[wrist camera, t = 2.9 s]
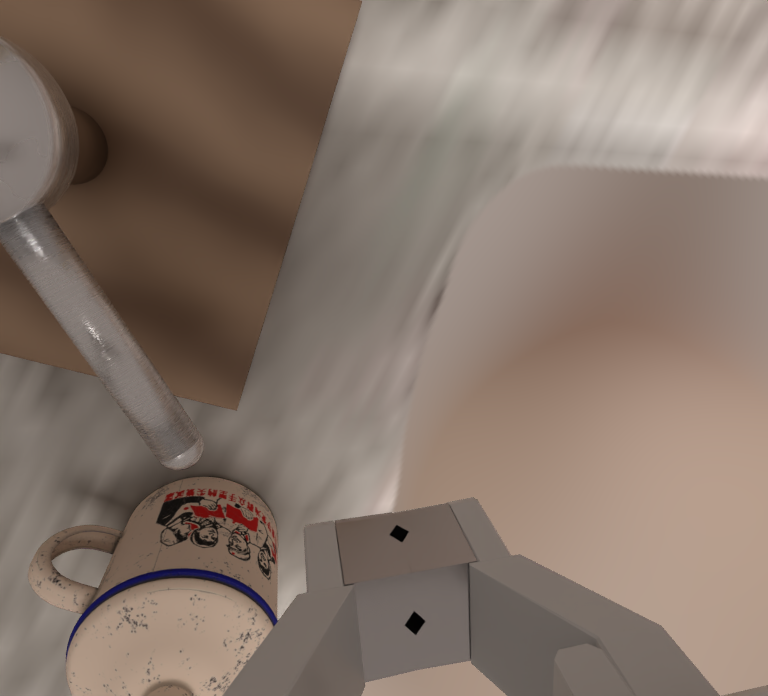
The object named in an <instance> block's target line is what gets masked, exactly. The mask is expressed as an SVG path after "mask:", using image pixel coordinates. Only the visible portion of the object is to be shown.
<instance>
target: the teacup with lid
mask: <svg viewBox="0 0 768 696" xmlns="http://www.w3.org/2000/svg"><path fill="white" fill-rule="evenodd" d="M75 549H94V550H99V551H103V552H107V553H110V554H113V556H112V558H111V561H110V563H109V565H108V567H107V569H106V572H105V574H104V576H103V578H102V581H101V583H100V585H99V587H98V588H95V587H92V586H88V585H84V584H81V583H78V582H75V581H72V580H70V579H68V578H66V577H64V576H62V575H61V574H60V573H59V572H58V571H57V570H56V569H55V568H54V566H53V565H52V562H51V560H53V559H54V558H55V557H57V556H59V555H61V554H62V553H65V552H67V551H70V550H75ZM277 575H278V534H277V528H276V524H275V520H274V518H273V516H272V513H271V512H270V510H269V508H268V507H267V506H266V504H265V503H264V502H263V501H262V500H261V499H260V498H259V497H258V496H257V495H256V494H255V493H253V492H252V491H251V490H249V489H248V488H246V487H244V486H242V485H240V484H238V483H235V482H232V481H230V480H226V479H222V478H215V477H193V478H187V479H182V480H178V481H175V482H172V483H170V484H167V485H165V486H163V487H161V488H159V489H158V490H156V491H154V492H153V493H151V494H150V495H149V496H148V497H146V498H145V499H144V500H143V501H142V502H141V503H140V504H139V505H138V507H137V508H136V509H135V511H134V512H133V513H132V515H131V517H130V519H129V521H128V523H127V525H126V527H125V530H124V532H122V531H119V530H115V529H112V528H108V527H103V526H96V525H82V526H76V527H72V528H68V529H66V530H63V531H61V532H59V533H57V534H55V535H53V536H52V537H50V538H49V539H48V540H47V541H45V542H44V543H43V544H42V545H41V547H40V548H39V549H38V551H37V552H36V554H35V556H34V558H33V560H32V562H31V564H30V567H29V572H28V578H29V582H30V585H31V586H32V588H33V590H34V591H35V592H36V593H37V595H39V596H40V597H41V598H42V599H43V600H45V601H46V602H48V603H50V604H52V605H54V606H56V607H59V608H62V609H65V610H69V611H72V612H76V613H80V614H82V616H81V617H80V618H79V620H78V622H77V623H76V625H75V627H74V629H73V631H72V633H71V636H70V639H69V642H68V646H67V652H66V675H67V680H68V685H69V688H70V691H71V693H72V696H222V695H223V694H224V693H225V691H226V690H227V689H228V687H229V686H230V685H231V683H232V682H233V681H234V679H235V678H236V677H237V675H238V674H239V673H240V671H241V670H242V669H243V667H244V666H245V665H246V663H247V662H248V661H249V659H250V658H251V657H252V655H253V654H254V653H255V651H256V650H257V648H258V647H259V646H260V644H261V643H262V642H263V640H264V639H265V638H266V636H267V635H268V634H269V632H270V631H271V630H272V628H273V627H274V626H275V624H276V623H277V622H278V620H277Z"/></svg>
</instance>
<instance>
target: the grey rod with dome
mask: <svg viewBox="0 0 768 696" xmlns="http://www.w3.org/2000/svg"><path fill="white" fill-rule="evenodd" d="M78 157H79V136H78V129H77V124H76V121H75V117H74V114H73V111H72V109H71V106H70V104H69V101H68V100H67V98H66V96H65V94H64V92H63V90H62V89H61V87H60V86H59V84H58V83H57V82H56V80H55V79H54V77H53V76H52V75H51V74H50V73H49V72H48V70H47V69H46V68H45V67H44V66H43V65H42V64H41V63H40V62H39V61H38V60H36V59H35V58H34V57H33V56H32V55H31V54H29V53H28V52H27V51H25V50H24V49H23V48H21V47H20V46H18V45H16V44H14V43H13V42H11V41H9V40H8V39H6V38H4V37H2V36H0V243H1V244H2V246H3V247H4V248H5V250H6V251H7V252H8V254H9V255H10V257H11V258H12V259H13V261H14V262H15V263H16V265H17V266H18V268H19V269H20V270H21V272H22V273H23V274H24V276H25V277H26V279H27V280H28V281H29V283H30V284H31V285H32V287H33V288H34V290H35V291H36V292H37V294H38V295H39V296H40V298H41V299H42V301H43V302H44V303H45V305H46V306H47V307H48V309H49V310H50V312H51V313H52V314H53V316H54V317H55V318H56V320H57V321H58V323H59V324H60V325H61V327H62V328H63V329H64V331H65V332H66V334H67V335H68V336H69V338H70V339H71V340H72V342H73V343H74V345H75V346H76V347H77V349H78V350H79V351H80V353H81V354H82V356H83V357H84V358H85V360H86V361H87V362H88V364H89V365H90V367H91V368H92V369H93V371H94V372H95V373H96V375H97V376H98V378H99V379H100V380H101V382H102V383H103V384H104V386H105V387H106V389H107V390H108V391H109V393H110V394H111V395H112V397H113V398H114V400H115V401H116V402H117V404H118V405H119V406H120V408H121V409H122V411H123V412H124V413H125V415H126V416H127V417H128V419H129V420H130V422H131V423H132V424H133V426H134V427H135V428H136V430H137V431H138V433H139V434H140V435H141V437H142V438H143V439H144V441H145V442H146V444H147V445H148V446H149V448H150V449H151V450H152V452H153V453H154V455H155V456H156V457H157V459H158V460H159V461H160V462H161V463H162V464H163V465H164V466H165V467H167V468H169V469H173V470H183V469H187V468H189V467H191V466H193V465H194V464H195V463H196V462H197V461H198V460H199V459H200V457H201V455H202V453H203V448H204V442H203V439H202V436H201V435H200V433H199V431H198V430H197V428H196V427H195V425H194V424H193V423H192V421H191V420H190V418H189V417H188V415H187V414H186V412H185V411H184V409H183V408H182V406H181V405H180V403H179V402H178V400H177V399H176V397H175V396H174V395H173V393H172V392H171V390H170V389H169V387H168V386H167V384H166V383H165V381H164V380H163V378H162V377H161V375H160V374H159V372H158V371H157V369H156V368H155V367H154V365H153V364H152V362H151V361H150V359H149V358H148V356H147V355H146V353H145V352H144V350H143V349H142V347H141V346H140V344H139V343H138V341H137V340H136V339H135V337H134V336H133V334H132V333H131V331H130V330H129V328H128V327H127V325H126V324H125V322H124V321H123V319H122V318H121V316H120V315H119V313H118V312H117V311H116V309H115V308H114V306H113V305H112V303H111V302H110V300H109V299H108V297H107V296H106V294H105V293H104V291H103V290H102V288H101V287H100V285H99V284H98V283H97V281H96V280H95V278H94V277H93V275H92V274H91V272H90V271H89V269H88V268H87V266H86V265H85V263H84V262H83V260H82V259H81V257H80V256H79V255H78V253H77V252H76V250H75V249H74V247H73V246H72V244H71V243H70V241H69V240H68V238H67V237H66V235H65V234H64V232H63V231H62V230H61V228H60V227H59V225H58V224H57V222H56V221H55V219H54V218H53V216H52V215H51V213H50V212H49V210H48V209H50V208H51V207H52V206H53V205H55V204H56V203H57V202H58V201H59V199H60V198H61V197H62V196H63V195H64V193H65V192H66V190H67V189H68V187H69V186H70V184H71V182H72V179H73V177H74V175H75V171H76V168H77V164H78Z"/></svg>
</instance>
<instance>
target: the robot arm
mask: <svg viewBox="0 0 768 696" xmlns="http://www.w3.org/2000/svg"><path fill="white" fill-rule="evenodd" d="M304 546H305V565H306V585H307V593H303V594H299V595H297V596H296V598H295V599H294V600H293V602H292V603H291V604H290V606H289V607H288V608H287V610H286V611H285V612H284V614H283V615H282V616H281V618H280V619H279V620H278V622H277V623H276V624H275V626H274V627H273V628H272V630H271V631H270V632H269V634H268V635H267V636H266V638H265V639H264V640H263V642H262V643H261V644H260V646H259V647H258V648H257V650H256V651H255V653H254V654H253V655H252V657H251V658H250V659H249V661H248V662H247V663H246V665H245V666H244V667H243V669H242V670H241V671H240V673H239V674H238V675H237V677H236V678H235V679H234V681H233V682H232V683H231V685H230V686H229V687H228V689H227V690H226V691H225V693H224V694H223V695H222V696H361V695H362V693H363V690H364V687H365V682H369V681H373V680H377V679H382V678H386V677H390V676H394V675H398V674H402V673H407V672H411V671H415V670H420V669H425V668H430V667H437V666H442V665H448V664H453V663H459V662H465V661H471V663H472V664H473V665H474V666H475V667H476V668H477V669H478V670H479V671H480V672H482V673H483V674H484V675H485V676H486V677H487V678H488V679H489V680H490V681H492V682H493V683H494V684H495V685H496V686H497V687H498V688H499V689H500V690H502V691H503V692H504V693H505V694H506V695H507V696H720V695H719V694H718V693H717V691H716V690H715V689H714V688H713V687H712V686H711V685H710V683H709V682H708V681H707V680H706V679H705V677H704V676H703V675H702V674H701V672H700V671H699V670H698V669H697V668H696V666H695V665H694V664H693V663H692V662H691V661H690V659H689V658H688V657H687V656H686V655H685V653H684V652H683V651H682V650H681V649H680V647H679V646H678V645H677V644H676V643H675V641H674V640H673V639H672V638H671V637H670V636H669V634H668V633H667V632H666V631H665V630H664V628H663V627H662V626H661V625H659V624H657V623H655V622H653V621H651V620H649V619H647V618H645V617H643V616H641V615H639V614H637V613H635V612H633V611H631V610H629V609H627V608H625V607H623V606H621V605H619V604H617V603H615V602H613V601H611V600H609V599H607V598H605V597H603V596H601V595H599V594H597V593H595V592H593V591H591V590H589V589H587V588H585V587H583V586H581V585H580V584H577V583H576V582H574V581H572V580H570V579H568V578H566V577H564V576H562V575H560V574H558V573H556V572H554V571H552V570H550V569H548V568H546V567H544V566H542V565H540V564H538V563H536V562H534V561H532V560H530V559H528V558H526V557H524V556H522V555H520V554H519V555H514V556H512V555H511V554H510V552H509V551H508V549H507V547H506V546H505V544H504V542H503V541H502V539H501V537H500V536H499V534H498V533H497V531H496V529H495V528H494V526H493V525H492V523H491V521H490V520H489V518H488V516H487V515H486V513H485V511H484V510H483V508H482V506H481V505H480V503H479V502H478V500H477V499H475V498H467V499H463V500H457V501H452V502H447V503H446V504H440V505H435V506H429V507H423V508H418V509H412V510H406V511H401V512H395V513H392V512H391V513H384V514H377V515H370V516H363V517H355V518H348V519H341V520H335V523H334V522H333V521H328V522H322V523H315V524H309V525H305V527H304ZM724 696H768V685H766V686H762V687H757V688H753V689H749V690H745V691H741V692H736V693H732V694H728V695H724Z"/></svg>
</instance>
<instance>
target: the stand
mask: <svg viewBox="0 0 768 696" xmlns="http://www.w3.org/2000/svg"><path fill="white" fill-rule="evenodd" d="M361 4H362V1H360V0H0V36H2V37H4V38H6V39H8V40H9V41H11V42H13V43H14V44H16V45H18V46H20V47H21V48H23V49H24V50H25V51H27V52H28V53H29V54H31V55H32V56H33V57H34V58H35V59H36V60H38V61H39V62H40V63H41V64H42V65H43V66H44V67H45V68H46V69H47V70H48V72H49V73H50V74H51V75H52V76H53V77H54V79H55V80H56V82H57V83H58V84H59V86H60V87H61V89H62V90H63V92H64V94H65V96H66V98H67V100H68V101H69V104H70V106H71V109H72V111H73V114H74V117H75V121H76V124H77V129H78V136H79V157H78V164H77V168H76V171H75V175H74V177H73V179H72V182H71V184H70V186H69V187H68V189H67V190H66V192H65V193H64V195H63V196H62V197H61V198H60V199H59V201H58V202H57V203H56V204H55V205H53V206H52V207H51V208H50V209H48V210H49V212H50V213H51V215H52V216H53V218H54V219H55V221H56V222H57V224H58V225H59V227H60V228H61V230H62V231H63V232H64V234H65V235H66V237H67V238H68V240H69V241H70V243H71V244H72V246H73V247H74V249H75V250H76V252H77V253H78V255H79V256H80V257H81V259H82V260H83V262H84V263H85V265H86V266H87V268H88V269H89V271H90V272H91V274H92V275H93V277H94V278H95V280H96V281H97V283H98V284H99V285H100V287H101V288H102V290H103V291H104V293H105V294H106V296H107V297H108V299H109V300H110V302H111V303H112V305H113V306H114V308H115V309H116V311H117V312H118V313H119V315H120V316H121V318H122V319H123V321H124V322H125V324H126V325H127V327H128V328H129V330H130V331H131V333H132V334H133V336H134V337H135V339H136V340H137V341H138V343H139V344H140V346H141V347H142V349H143V350H144V352H145V353H146V355H147V356H148V358H149V359H150V361H151V362H152V364H153V365H154V367H155V368H156V369H157V371H158V372H159V374H160V375H161V377H162V378H163V380H164V381H165V383H166V384H167V386H168V387H169V389H170V390H171V392H172V393H173V395H175V396H179V397H183V398H187V399H191V400H195V401H199V402H203V403H207V404H211V405H215V406H220V407H224V408H228V409H232V410H236V411H237V408H238V405H239V402H240V398H241V395H242V392H243V389H244V385H245V382H246V379H247V375H248V372H249V369H250V366H251V362H252V359H253V356H254V353H255V349H256V346H257V343H258V340H259V336H260V333H261V330H262V327H263V323H264V320H265V317H266V314H267V310H268V307H269V304H270V300H271V297H272V294H273V291H274V287H275V284H276V281H277V278H278V274H279V271H280V268H281V265H282V261H283V258H284V255H285V252H286V248H287V245H288V242H289V238H290V235H291V232H292V229H293V225H294V222H295V219H296V216H297V212H298V209H299V206H300V203H301V199H302V196H303V193H304V190H305V186H306V183H307V180H308V177H309V173H310V170H311V167H312V163H313V160H314V157H315V154H316V150H317V147H318V144H319V141H320V137H321V134H322V131H323V128H324V124H325V121H326V118H327V115H328V111H329V108H330V105H331V102H332V98H333V95H334V92H335V88H336V85H337V82H338V79H339V75H340V72H341V69H342V66H343V62H344V59H345V56H346V53H347V49H348V46H349V43H350V40H351V36H352V33H353V30H354V26H355V23H356V20H357V17H358V13H359V10H360V7H361ZM0 353H3V354H7V355H11V356H15V357H19V358H23V359H27V360H31V361H35V362H39V363H43V364H48V365H52V366H56V367H60V368H64V369H68V370H72V371H76V372H80V373H84V374H89V375H93V376H97V375H96V373H95V372H94V371H93V369H92V368H91V367H90V365H89V364H88V362H87V361H86V360H85V358H84V357H83V356H82V354H81V353H80V351H79V350H78V349H77V347H76V346H75V345H74V343H73V342H72V340H71V339H70V338H69V336H68V335H67V334H66V332H65V331H64V329H63V328H62V327H61V325H60V324H59V323H58V321H57V320H56V318H55V317H54V316H53V314H52V313H51V312H50V310H49V309H48V307H47V306H46V305H45V303H44V302H43V301H42V299H41V298H40V296H39V295H38V294H37V292H36V291H35V290H34V288H33V287H32V285H31V284H30V283H29V281H28V280H27V279H26V277H25V276H24V274H23V273H22V272H21V270H20V269H19V268H18V266H17V265H16V263H15V262H14V261H13V259H12V258H11V257H10V255H9V254H8V252H7V251H6V250H5V248H4V247H3V246H2V244H1V243H0ZM97 377H98V376H97Z"/></svg>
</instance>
